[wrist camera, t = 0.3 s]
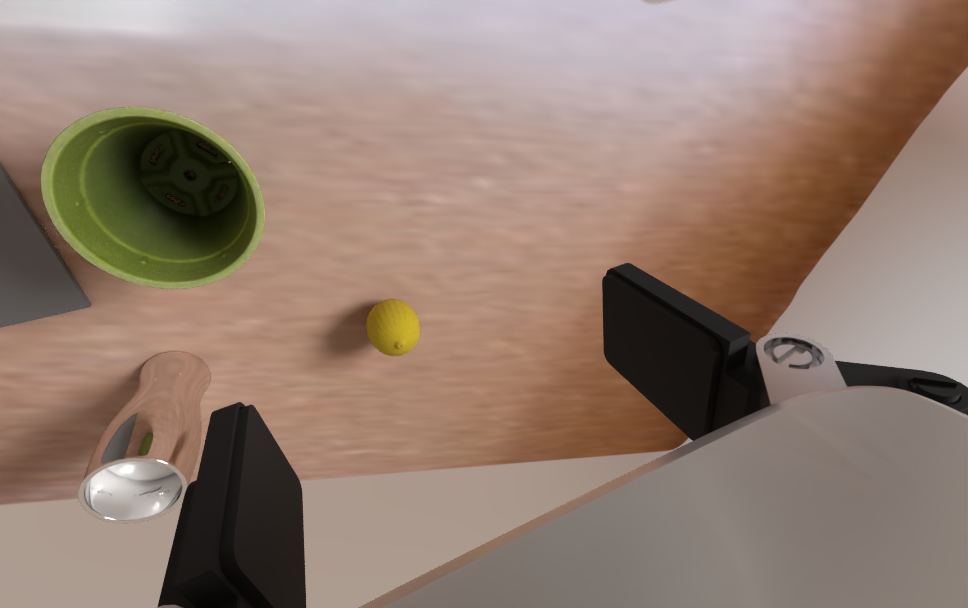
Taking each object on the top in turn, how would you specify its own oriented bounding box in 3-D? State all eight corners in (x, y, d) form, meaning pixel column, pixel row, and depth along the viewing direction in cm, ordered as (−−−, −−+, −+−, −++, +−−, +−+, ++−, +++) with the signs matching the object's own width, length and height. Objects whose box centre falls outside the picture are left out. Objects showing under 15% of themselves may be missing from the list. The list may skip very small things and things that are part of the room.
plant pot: (268, 244, 42) (263, 292, 33) (114, 232, 38) (58, 285, 28) (271, 113, 38) (265, 128, 29) (95, 80, 33) (20, 85, 24)
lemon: (374, 338, 51) (387, 378, 45) (353, 301, 48) (363, 338, 42) (417, 317, 52) (435, 353, 46) (398, 279, 49) (415, 312, 43)
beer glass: (228, 387, 47) (208, 499, 35) (159, 413, 46) (112, 539, 34) (195, 337, 44) (158, 442, 32) (118, 362, 42) (48, 483, 30)
